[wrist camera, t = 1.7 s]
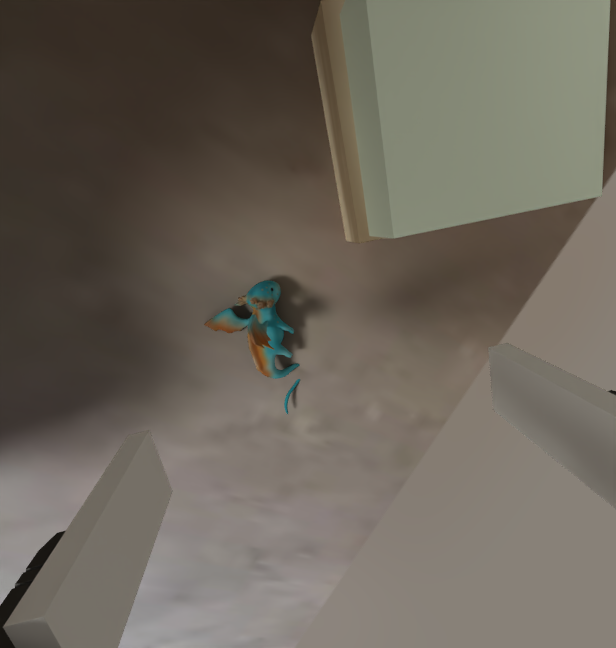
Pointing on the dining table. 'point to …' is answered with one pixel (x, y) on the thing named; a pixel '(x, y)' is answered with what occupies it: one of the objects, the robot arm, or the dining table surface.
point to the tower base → (340, 119)
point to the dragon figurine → (260, 329)
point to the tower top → (475, 107)
